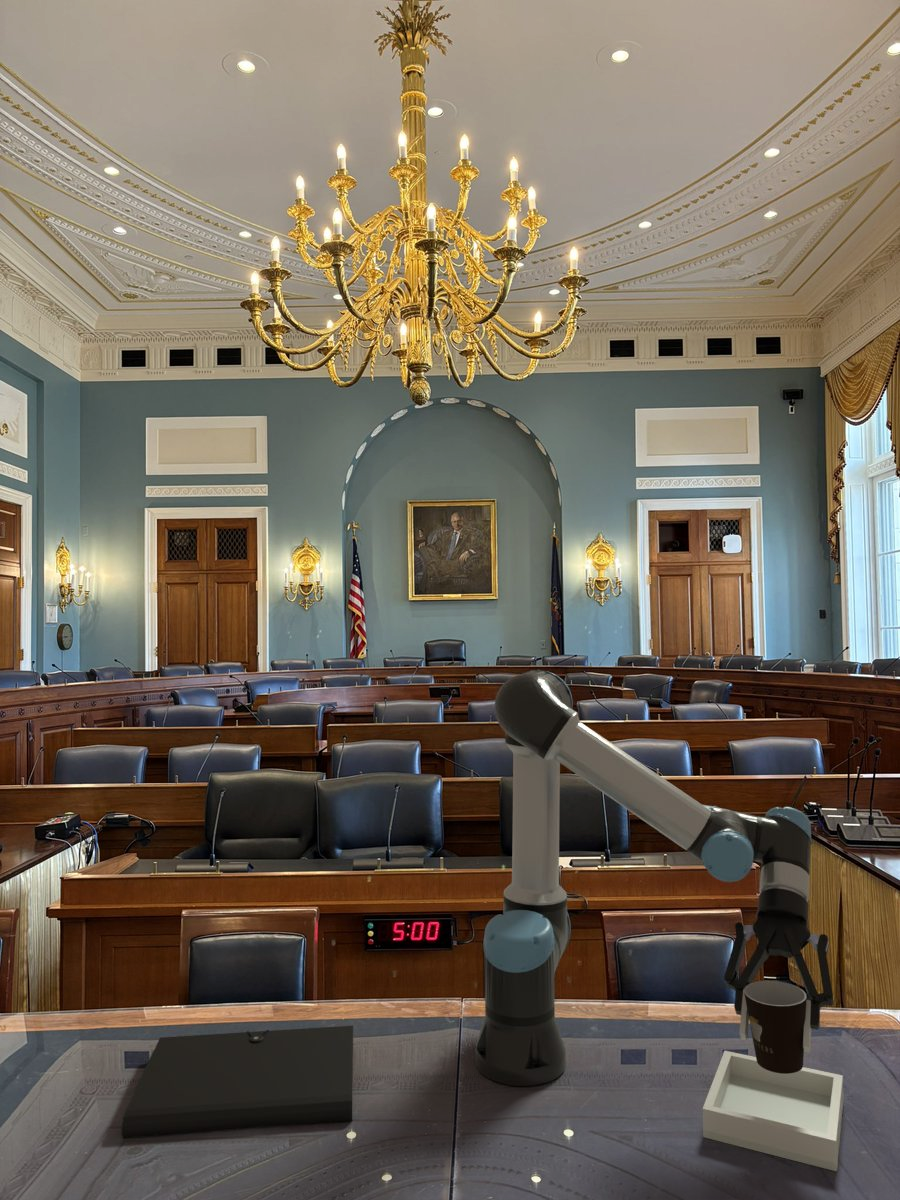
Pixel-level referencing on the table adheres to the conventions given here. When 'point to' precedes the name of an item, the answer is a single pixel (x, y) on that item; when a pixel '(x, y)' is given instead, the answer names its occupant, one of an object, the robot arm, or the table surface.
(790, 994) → the coffee mug
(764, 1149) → the white storage tray
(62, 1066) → the table surface
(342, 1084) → the file folder
